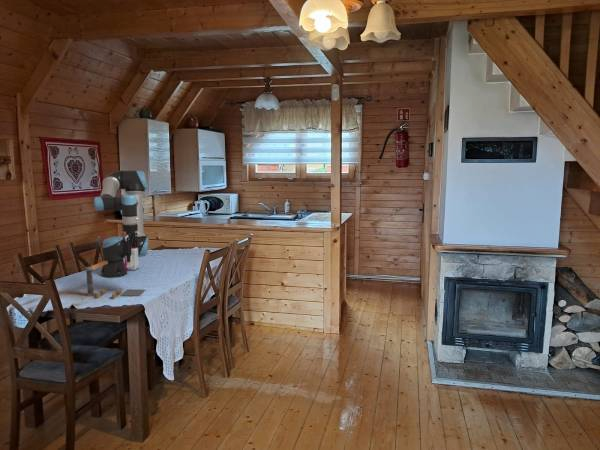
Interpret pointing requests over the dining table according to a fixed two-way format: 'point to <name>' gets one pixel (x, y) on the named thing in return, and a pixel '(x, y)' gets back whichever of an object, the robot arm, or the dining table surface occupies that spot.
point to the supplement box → (133, 260)
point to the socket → (90, 290)
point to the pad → (132, 292)
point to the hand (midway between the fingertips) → (131, 265)
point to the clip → (96, 266)
